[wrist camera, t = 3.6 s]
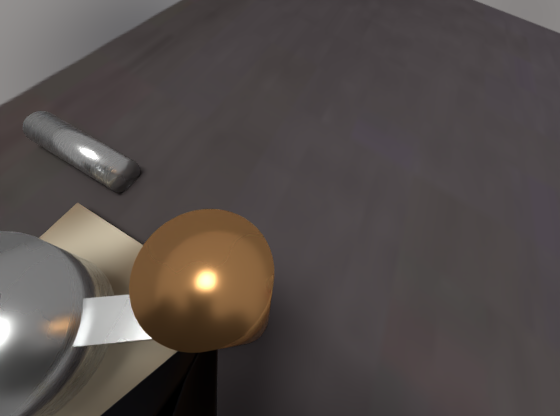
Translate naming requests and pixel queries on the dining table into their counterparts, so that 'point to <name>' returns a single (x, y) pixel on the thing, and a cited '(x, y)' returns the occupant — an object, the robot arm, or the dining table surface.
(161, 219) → the dining table surface
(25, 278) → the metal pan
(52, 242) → the square beige tile
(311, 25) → the dining table surface
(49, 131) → the loose steel rod
